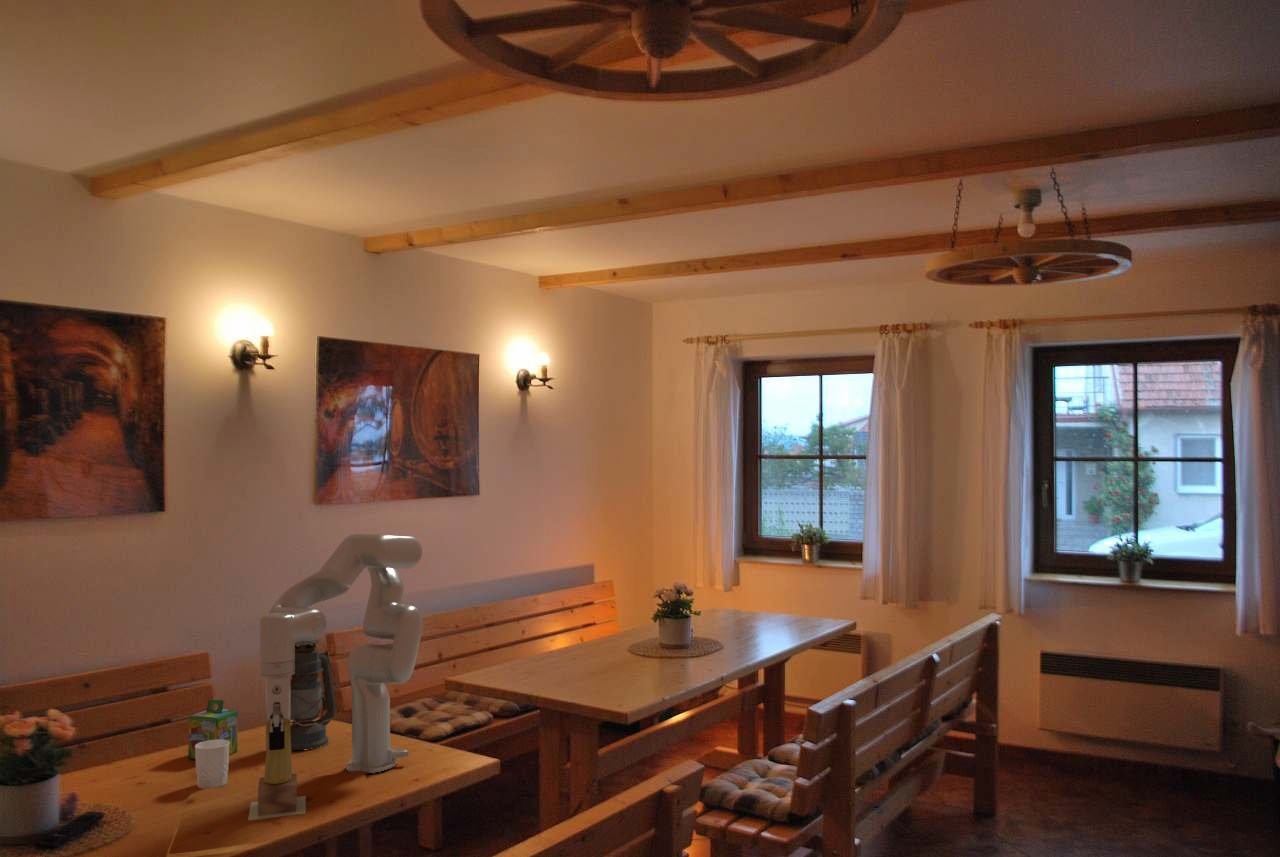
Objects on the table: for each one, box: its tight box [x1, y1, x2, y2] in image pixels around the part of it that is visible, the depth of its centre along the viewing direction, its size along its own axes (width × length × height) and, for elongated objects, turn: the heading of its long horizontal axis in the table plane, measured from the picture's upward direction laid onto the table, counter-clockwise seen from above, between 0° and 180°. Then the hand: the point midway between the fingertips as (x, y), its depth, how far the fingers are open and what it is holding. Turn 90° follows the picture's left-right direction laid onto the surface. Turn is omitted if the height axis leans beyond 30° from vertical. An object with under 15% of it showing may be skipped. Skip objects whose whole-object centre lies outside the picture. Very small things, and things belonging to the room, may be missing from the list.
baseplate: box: [247, 795, 307, 821], centre depth 224 cm, size 12×12×1 cm
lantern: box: [290, 639, 343, 750], centre depth 276 cm, size 19×14×30 cm
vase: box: [263, 716, 293, 784], centre depth 225 cm, size 6×6×14 cm
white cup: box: [194, 739, 230, 790], centre depth 243 cm, size 8×8×10 cm
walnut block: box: [257, 773, 298, 816], centre depth 224 cm, size 8×8×6 cm
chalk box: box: [187, 699, 239, 760], centre depth 267 cm, size 9×9×15 cm
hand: (277, 743), depth 224 cm, fingers open, 9 cm apart
